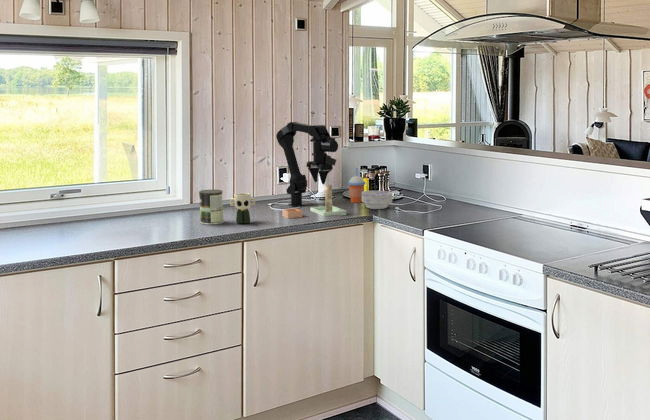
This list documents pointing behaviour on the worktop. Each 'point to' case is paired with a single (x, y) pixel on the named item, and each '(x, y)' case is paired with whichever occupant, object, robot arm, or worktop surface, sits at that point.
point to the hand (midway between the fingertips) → (319, 183)
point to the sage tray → (323, 212)
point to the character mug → (242, 206)
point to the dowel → (328, 198)
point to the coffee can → (211, 207)
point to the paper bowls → (377, 199)
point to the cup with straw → (356, 188)
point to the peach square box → (292, 213)
